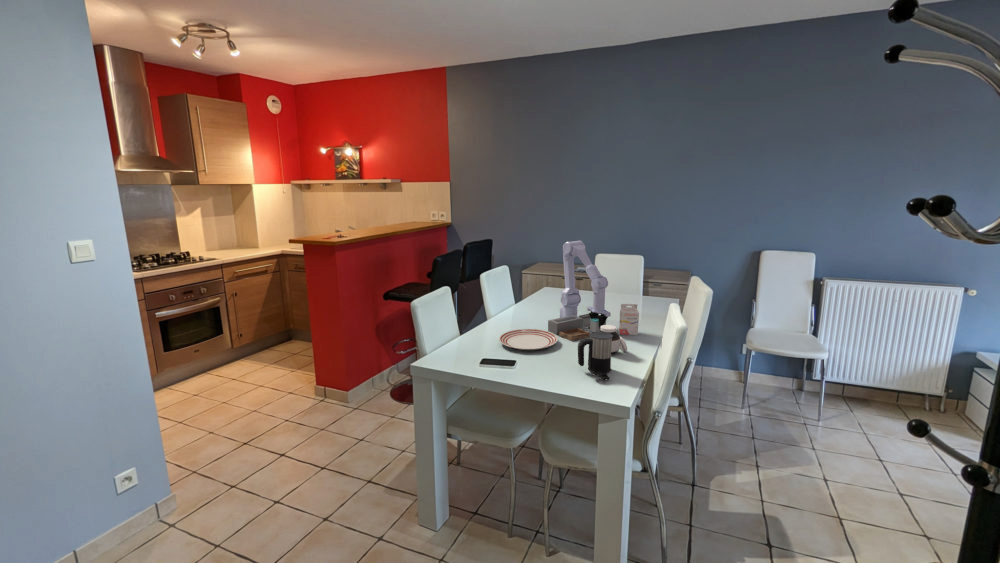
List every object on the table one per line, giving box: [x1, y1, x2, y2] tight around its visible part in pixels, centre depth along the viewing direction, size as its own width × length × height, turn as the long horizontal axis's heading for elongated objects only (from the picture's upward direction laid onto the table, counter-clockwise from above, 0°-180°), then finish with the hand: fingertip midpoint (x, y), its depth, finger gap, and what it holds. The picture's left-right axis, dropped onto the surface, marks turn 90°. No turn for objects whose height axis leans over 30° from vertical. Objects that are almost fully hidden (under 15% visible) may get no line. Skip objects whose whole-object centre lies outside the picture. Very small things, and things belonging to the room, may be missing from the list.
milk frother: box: [577, 331, 613, 381], centre depth 184 cm, size 14×16×15 cm
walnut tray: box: [558, 328, 591, 342], centre depth 231 cm, size 9×12×2 cm
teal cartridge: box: [589, 318, 607, 333], centre depth 238 cm, size 4×7×6 cm, turn 123°
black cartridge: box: [578, 313, 591, 329], centre depth 247 cm, size 4×7×6 cm, turn 123°
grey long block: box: [547, 315, 584, 336], centre depth 241 cm, size 7×17×6 cm, turn 123°
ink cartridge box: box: [618, 303, 640, 336], centre depth 234 cm, size 9×5×15 cm, turn 84°
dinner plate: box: [498, 328, 558, 351], centre depth 222 cm, size 28×27×3 cm
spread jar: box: [599, 324, 628, 356], centre depth 209 cm, size 12×11×12 cm
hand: (598, 327), depth 239 cm, fingers closed on teal cartridge, 4 cm apart
